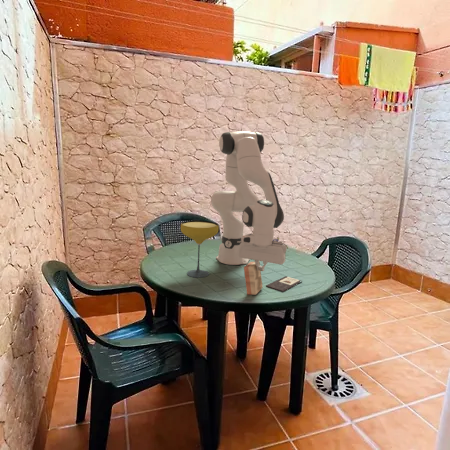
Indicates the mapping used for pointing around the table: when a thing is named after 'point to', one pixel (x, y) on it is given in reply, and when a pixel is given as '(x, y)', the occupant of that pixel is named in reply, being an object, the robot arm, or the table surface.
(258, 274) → the tan wooden block
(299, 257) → the table surface
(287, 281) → the chocolate bar
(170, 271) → the table surface
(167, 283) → the table surface
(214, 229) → the cocktail glass
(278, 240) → the passion flower
